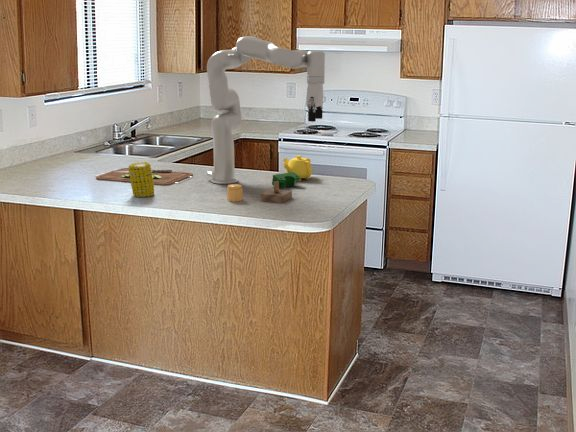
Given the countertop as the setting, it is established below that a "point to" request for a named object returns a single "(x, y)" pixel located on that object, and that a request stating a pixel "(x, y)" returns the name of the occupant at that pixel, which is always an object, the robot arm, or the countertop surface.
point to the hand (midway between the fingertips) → (315, 119)
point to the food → (141, 179)
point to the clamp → (285, 179)
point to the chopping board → (158, 176)
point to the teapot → (298, 166)
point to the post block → (276, 194)
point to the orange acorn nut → (234, 192)
